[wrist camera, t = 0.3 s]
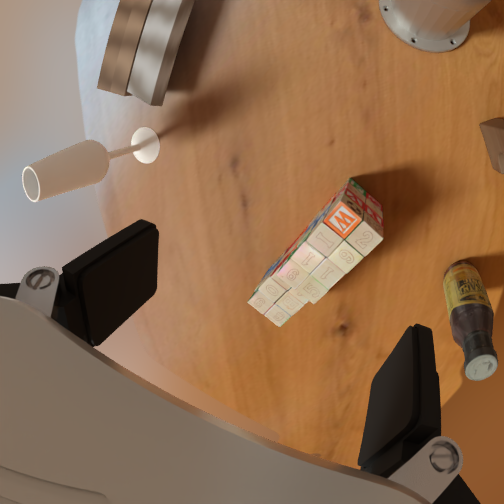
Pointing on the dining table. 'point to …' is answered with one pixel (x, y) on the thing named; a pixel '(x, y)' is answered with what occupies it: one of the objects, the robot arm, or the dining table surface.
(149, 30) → the grey plank
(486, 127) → the wooden block
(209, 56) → the dining table surface
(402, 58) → the dining table surface
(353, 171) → the dining table surface
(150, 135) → the champagne flute
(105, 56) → the walnut floor strip
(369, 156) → the dining table surface
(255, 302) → the stack of blocks
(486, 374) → the sauce bottle
